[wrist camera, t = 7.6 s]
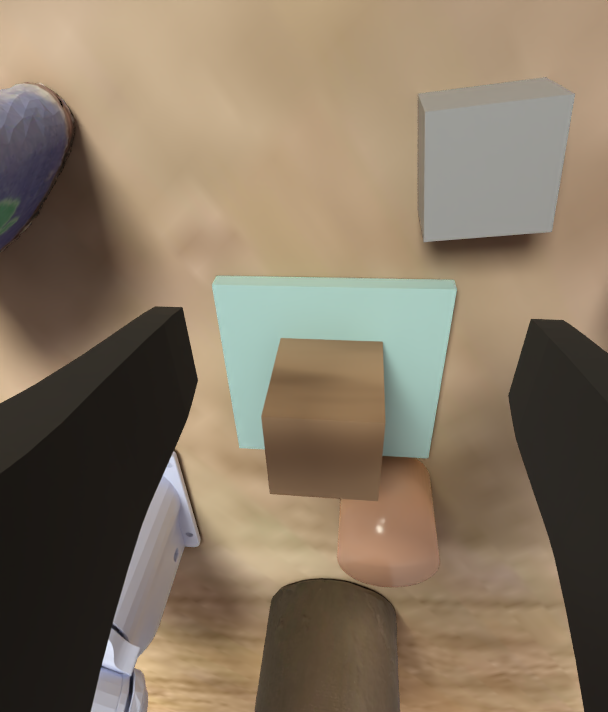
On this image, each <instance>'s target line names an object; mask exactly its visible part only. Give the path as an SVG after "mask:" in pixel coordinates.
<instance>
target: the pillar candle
mask: <svg viewBox="0 0 608 712" xmlns="http://www.w3.org/2000/svg"><path fill="white" fill-rule="evenodd" d="M255 712H400V699H399V680H398V655H397V624H396V614H395V611H394V608H393V607H392V605H391V604H390V603H389V602H388V600H386V599H385V598H384V597H383V596H381V595H379V594H377V593H375V592H373V591H371V590H368V589H365V588H363V587H360V586H357V585H354V584H352V583H349V582H344V581H336V580H323V579H318V580H316V579H315V580H308V581H301V582H299V583H294V584H292V585H287V586H285V587H282V588H281V589H280V590H279V591H278V592H277V593H276V595H275V596H274V597H273V598H272V600H271V606H270V613H269V618H268V625H267V633H266V638H265V645H264V651H263V658H262V665H261V671H260V679H259V685H258V691H257V697H256V705H255Z"/></svg>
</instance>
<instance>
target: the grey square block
mask: <svg viewBox="0 0 608 712" xmlns="http://www.w3.org/2000/svg"><path fill="white" fill-rule="evenodd" d="M574 97H575V93H573V92H571V91H569V90H568V89H566V88H564V87H562V86H561V85H559V84H557V83H555V82H554V81H552V80H550V79H548V78H547V77H544V78H537V79H529V80H521V81H513V82H505V83H498V84H490V85H482V86H474V87H466V88H459V89H451V90H443V91H435V92H427V93H420V94H418V215H419V220H420V225H421V230H422V235H423V240H424V242H430V241H443V240H455V239H468V238H481V237H493V236H506V235H519V234H531V233H544V232H552V227H553V222H554V216H555V210H556V204H557V198H558V192H559V186H560V180H561V174H562V168H563V162H564V156H565V151H566V145H567V139H568V133H569V127H570V121H571V115H572V109H573V103H574Z"/></svg>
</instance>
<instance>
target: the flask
mask: <svg viewBox="0 0 608 712" xmlns="http://www.w3.org/2000/svg"><path fill="white" fill-rule="evenodd" d="M57 97H58V95H57V96H56V94H55V92H54V91H52V90H50V89H49V88H47V87H45V86H44V85H43V84H42V83H29V82H26V83H21V84H15V85H14V86H12V87H11V88H9V89H1V90H0V252H1V251H3V250H5V248H7V247H8V246H9V245H10V244H11V243H12V242H13V241H15V240H17V239H18V238H19V237H20V233H22V232H24V231H26V230H27V227H29V226H30V225H31V223H32V221H33V219H34V218H36V217H37V216H38V214H39V210H40V208H41V206H42V205H43V202H44V201H45V200H46V199H47V196H48V195H49V193H50V191H51V189H52V188H53V185H54V184H55V183H56V182H57V181H56V178H57V177H58V175H60V172H62V169H63V168H64V164H65V160H67V159H66V158H68V156H69V154H70V152H71V147H72V141H73V138H74V135H73V134H74V131H75V128H74V127H73V124H74V118H73V116H72V115H71V113H70V110H69V107H68V106H67V105H66V103H65V102H64V100H63V99H61V98H60V97H58V98H59V99H60V101H61V102H62V104H63V108H64V109H63V108H62V106H61V104H60V103H59V102H60V101H59V100H58V98H57Z"/></svg>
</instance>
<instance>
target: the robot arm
mask: <svg viewBox="0 0 608 712" xmlns="http://www.w3.org/2000/svg"><path fill="white" fill-rule="evenodd" d="M197 382H198V378H197V374H196V369H195V364H194V360H193V355H192V350H191V345H190V341H189V336H188V331H187V327H186V322H185V317H184V312H183V308H182V307H154V308H152V309H150V310H148V311H147V312H145V313H143V314H142V315H140V316H139V317H137V318H136V319H134V320H133V321H131V322H130V323H128V324H127V325H126V326H124V327H123V328H121V329H120V330H118V331H117V332H115V333H114V334H113V335H111V336H110V337H108V338H107V339H105V340H104V341H102V342H101V343H99V344H98V345H96V346H95V347H93V348H92V349H90V350H89V351H88V352H86V353H85V354H83V355H82V356H80V357H78V358H77V359H75V360H74V361H72V362H70V363H69V364H67V365H66V366H64V367H62V368H61V369H59V370H58V371H56V372H54V373H53V374H51V375H50V376H48V377H46V378H45V379H43V380H42V381H40V382H38V383H37V384H35V385H33V386H31V387H30V388H28V389H26V390H24V391H23V392H21V393H19V394H17V395H15V396H13V397H12V398H10V399H8V400H6V401H4V402H2V403H0V712H147V707H148V693H147V689H146V685H145V678H144V674H143V673H142V671H140V670H138V669H135V668H134V667H135V664H136V661H137V658H138V657H139V656H140V655H141V654H142V653H143V651H144V650H145V649H146V648H147V647H148V645H149V644H150V643H151V641H152V640H153V638H154V636H155V634H156V632H157V630H158V627H159V625H160V622H161V619H162V615H163V612H164V609H165V606H166V603H167V600H168V597H169V594H170V591H171V588H172V585H173V582H174V578H175V575H176V572H177V569H178V566H179V563H180V560H181V557H182V554H183V551H184V548H185V547H197V546H199V544H200V541H201V539H200V535H199V532H198V528H197V525H196V521H195V518H194V514H193V511H192V507H191V504H190V500H189V497H188V493H187V490H186V486H185V483H184V479H183V476H182V472H181V469H180V465H179V462H178V458H177V455H176V453H175V452H174V449H175V447H176V444H177V442H178V440H179V437H180V435H181V433H182V430H183V428H184V426H185V423H186V421H187V418H188V415H189V411H190V408H191V405H192V401H193V397H194V393H195V389H196V386H197ZM508 396H509V403H510V409H511V415H512V421H513V426H514V431H515V436H516V440H517V443H518V446H519V450H520V453H521V456H522V459H523V462H524V465H525V468H526V471H527V474H528V477H529V480H530V483H531V486H532V489H533V492H534V495H535V498H536V501H537V504H538V507H539V510H540V513H541V516H542V518H543V521H544V524H545V527H546V530H547V533H548V536H549V540H550V543H551V547H552V550H553V554H554V557H555V562H556V566H557V571H558V575H559V580H560V585H561V589H562V594H563V598H564V603H565V607H566V613H567V618H568V623H569V628H570V633H571V638H572V644H573V649H574V654H575V659H576V665H577V671H578V677H579V683H580V688H581V694H582V700H583V706H584V712H608V353H607V352H605V351H604V350H603V349H602V348H600V347H599V346H598V345H596V344H595V343H594V342H593V341H591V340H590V339H589V338H587V337H586V336H585V335H583V334H582V333H581V332H579V331H578V330H577V329H575V328H574V327H573V326H571V325H570V324H568V323H567V322H565V321H564V320H544V319H531V321H530V324H529V327H528V331H527V334H526V338H525V341H524V344H523V348H522V351H521V355H520V358H519V361H518V365H517V368H516V371H515V375H514V378H513V382H512V385H511V388H510V392H509V395H508Z"/></svg>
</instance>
